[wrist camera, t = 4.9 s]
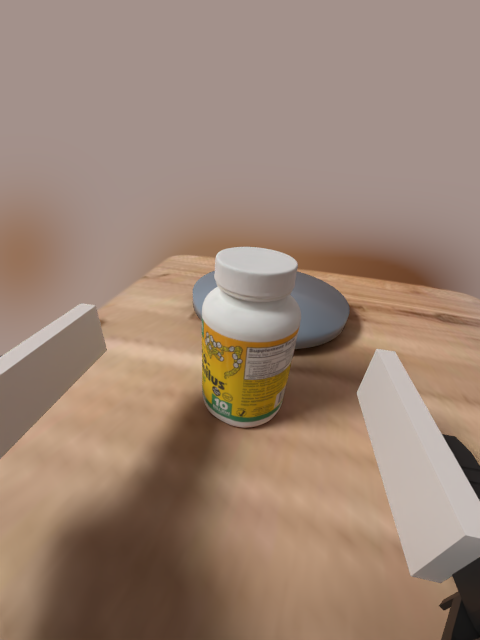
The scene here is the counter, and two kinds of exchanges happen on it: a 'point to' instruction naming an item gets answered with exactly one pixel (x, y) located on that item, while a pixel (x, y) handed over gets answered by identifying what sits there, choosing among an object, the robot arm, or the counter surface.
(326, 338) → the slate dish
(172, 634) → the counter surface
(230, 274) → the supplement bottle
